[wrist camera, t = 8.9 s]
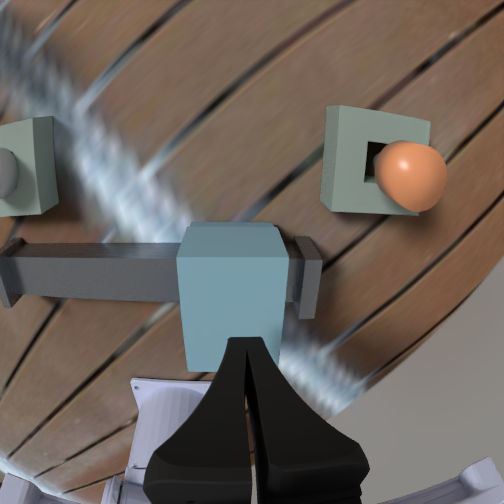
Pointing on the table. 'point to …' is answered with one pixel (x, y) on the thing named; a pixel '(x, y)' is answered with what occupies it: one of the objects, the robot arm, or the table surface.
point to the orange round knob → (411, 174)
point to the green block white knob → (27, 167)
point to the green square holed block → (362, 157)
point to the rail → (130, 272)
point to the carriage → (230, 288)
